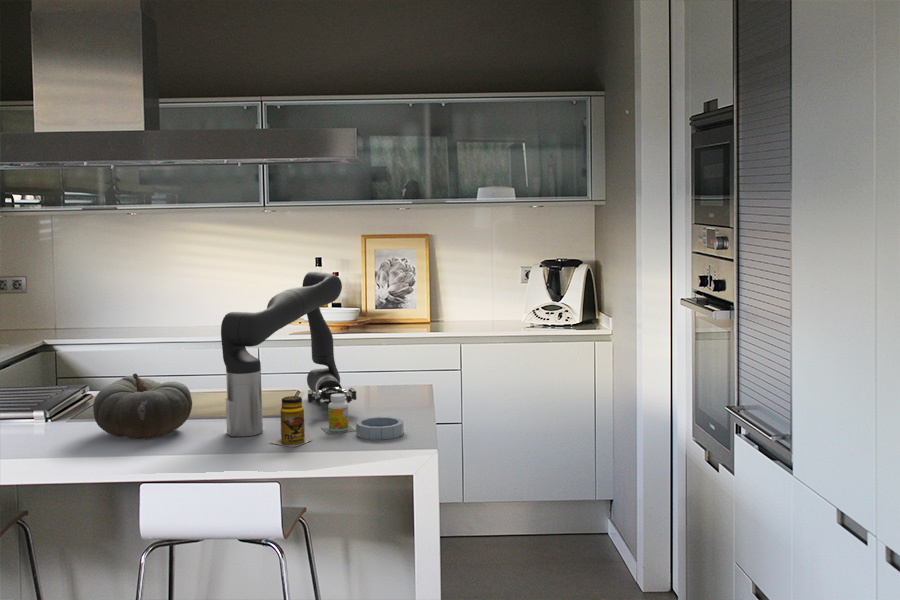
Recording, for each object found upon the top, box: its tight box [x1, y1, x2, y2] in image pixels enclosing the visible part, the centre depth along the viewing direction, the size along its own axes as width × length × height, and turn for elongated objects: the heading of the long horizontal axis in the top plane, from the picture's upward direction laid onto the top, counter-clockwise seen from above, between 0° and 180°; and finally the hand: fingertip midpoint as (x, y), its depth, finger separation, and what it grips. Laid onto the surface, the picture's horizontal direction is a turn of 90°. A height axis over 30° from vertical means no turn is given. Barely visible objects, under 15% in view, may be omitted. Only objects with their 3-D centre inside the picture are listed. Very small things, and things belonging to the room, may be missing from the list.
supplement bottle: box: [327, 394, 349, 432], centre depth 237 cm, size 5×5×10 cm
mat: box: [320, 424, 356, 435], centre depth 238 cm, size 8×7×1 cm
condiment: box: [270, 395, 312, 448], centre depth 225 cm, size 7×8×12 cm
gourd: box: [92, 372, 193, 440], centre depth 236 cm, size 25×25×17 cm
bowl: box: [355, 416, 405, 441], centre depth 233 cm, size 12×12×3 cm
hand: (334, 400), depth 248 cm, fingers open, 8 cm apart
